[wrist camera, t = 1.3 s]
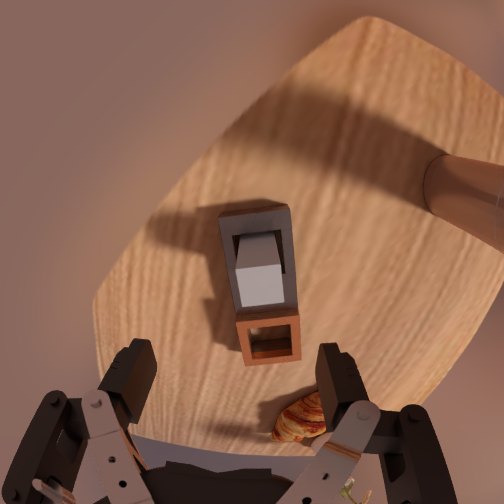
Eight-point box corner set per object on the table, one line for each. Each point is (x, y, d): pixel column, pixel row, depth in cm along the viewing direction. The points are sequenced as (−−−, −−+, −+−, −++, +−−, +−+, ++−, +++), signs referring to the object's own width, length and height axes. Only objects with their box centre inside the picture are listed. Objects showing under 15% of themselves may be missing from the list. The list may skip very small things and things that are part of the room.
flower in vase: (344, 445, 54) (361, 524, 31) (303, 447, 54) (313, 533, 30) (367, 419, 49) (394, 509, 26) (322, 421, 49) (340, 522, 26)
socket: (298, 346, 40) (301, 364, 37) (246, 352, 41) (246, 370, 37) (287, 204, 32) (291, 212, 29) (220, 212, 33) (216, 221, 29)
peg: (276, 260, 35) (284, 302, 26) (245, 263, 35) (242, 306, 26) (273, 230, 33) (280, 263, 24) (240, 234, 34) (235, 269, 24)
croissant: (281, 423, 54) (296, 450, 48) (248, 431, 48) (263, 462, 42) (345, 372, 47) (367, 403, 41) (314, 377, 41) (338, 415, 35)
